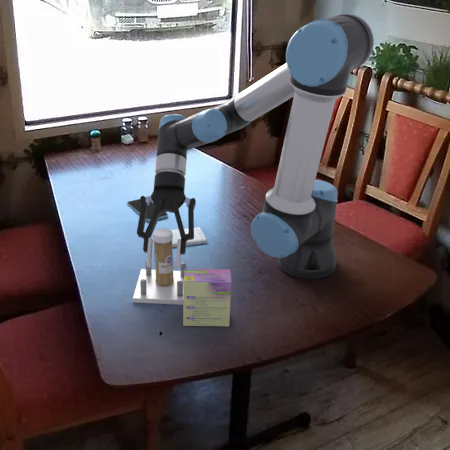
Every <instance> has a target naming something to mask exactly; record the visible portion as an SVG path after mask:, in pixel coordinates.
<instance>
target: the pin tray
mask: <svg viewBox="0 0 450 450" xmlns="http://www.w3.org/2000/svg"><path fill="white" fill-rule="evenodd" d="M146 262H147V260H146V261H145V263H146ZM184 269H187V262H185V261H182V262H181V261H180V270H173V278H174V282H173V283H172V284H170V285H166V286H162V285H158V284H157V283H156V281H155V280H156V271H155V269H153V268H152V266H151V267H147V265H146V264H145V268H141V269H140V272H139V276H138V280H137V283H136V287H135V289H134V294H133V297H132V303H136V304H137V303H139V304H158V305H159V304H161V305H180V306H181V305H182V306H183V289H184Z"/></svg>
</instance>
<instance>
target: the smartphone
mask: <svg viewBox="0 0 450 450" xmlns="http://www.w3.org/2000/svg"><path fill="white" fill-rule="evenodd" d="M126 205H128V207H129V208H130V209H132V210H133V211H134V212H135V213H136V214H137V215H138V216H140V210H141V200H140V198H137V199H133V200H129V201H127V203H126ZM155 207H156V206H155V204H154V203H153V201H151V202H150V205H149V206H147V215H146V221H145V222H147V223H149V222H150V220H151V218H152V215H153V213H154V210H155ZM168 217H169V212H162V213H161V216H160V217H159V219H158V221H160V220H165V219H168Z"/></svg>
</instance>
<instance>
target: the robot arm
mask: <svg viewBox="0 0 450 450" xmlns="http://www.w3.org/2000/svg"><path fill="white" fill-rule="evenodd" d="M374 40H375V39H374V33H373V31H372V28H371V27H370V25H369V24H368V23H367V22H366V20H364V18H362V17H360V16H357V15H355V14H352V13H351V14H349V13H344V14H339V15H338V14H337V15H335V16H331V17H327V18H322V19H316V20H313V21H310V22H308V23H307V24H305V25H303V26H302V27H300V28H299V29H297V30H296V32H294V33H293V35H292V36H291V38H290V39H289V41H288V42H287V47H286V51H285V63H284V64H283V65H281V66H279V67H278V68H277V69H275V70H273V71H272V72H270V73H269V74H267V75H265V76H264V77H262V78H261V79H260V80H257V81H256V82H255V83H253V84H252V85H250V86H249V87H247V88H246V89H244V90H242V91H241V92H239V93H238V94H236V95H235V96H233V97H232V98H230V99H229V100H227V101H225V102H224V103H221V104H219V105H216V106H213V107H211V108H208V109H206V108H205V109H204V110H201V111H199V112H197V113H194V114H193V115H190V116H188V117H186V116H184V115H181V114H177V113H176V114H175V113H173V114H165V115H164V116H162V117H161V118H160V120H159V124H158V125H159V127H158V131H157V145H156V146H157V147H156V158H155V167H154V168H155V170H154V173H155V175H154V183H153V191H152V193H151V195H148V196H144V195H141V196H140V198H139V199H140V200H141V210H140V215H138V216H139V218H138V223H137V229H136V234H137V236H138V238H141V239H143V245H142V246H143V247H142V249H143V253H144V254H146V261H147V262H146V261H145V266H146V265H147V267H151V268H152V258H153V245H154V240H153V237H152V236H153V232H154V231H155V228H156V227H157V224H158V222H159V220H158V219H159V217H160V216H161V213H162V212H166V213H172V214H173V213H174V217H175V221H176V224H177V228H178V229H179V232H180V236H181V239H178V242H177V247H176V258H175V267H176V269H179V270H181V257H182V255H185V254H186V249H187V246H186V242H187V241H188V240H193V239H194V228H195V220H194V219H195V218H194V217H195V216H194V215H195V212H194V211H195V208H196V204H197V202H196V198H195V197H192V198H190V197H186V194H185V189H186V188H185V187H186V186H185V185H186V177H185V176H186V171H187V161H188V160H187V159H188V158H187V155H188V151H190V150H193V149H195V148H198V147H200V146H204V145H206V144H209V143H214V142H216V141H219V139H222V138H223V137H224V136H226V135H229V134H231V133H233V132H235V131H239V130H242V129H243V128H245V127H247V126H249V124H251V122H253V121H254V120H257V119H258V118H259V117H262V116H263V115H265V114H266V113H268V112H270V111H271V110H273V109H275V108H277V107H279V106H280V105H282V104H283V103H285V102H287V101H288V100H290V99H291V98H293V100H292V104H291V108H290V113H289V117H288V123H287V127H286V132H285V136H284V140H283V146H282V149H281V154H280V159H279V164H278V167H277V172H276V178H275V181H274V187H272V188H270V189H269V190H268V191H267V192H266V194H265V197H264V202H263V207H262V211H261V212H260V213H257V214H256V216H255V217H254V218H253V220H252V221H251V224H250V233H251V237H252V240H253V241H254V242H255V243H256V246H257V247H258V248H259V249H260V250H261V251H262V253H265V254H266V255H268V256H270V257H272V258H276V259H277V265H278V267H279V268H280V269H281V271H282V272H284V273H286V274H287V275H290V276H292V277H295V278H299V279H306V280H318V279H324V278H327V277H329V276H331V275H333V273H334V272H335V270H336V267H337V256H336V253H335V248H334V247H335V246H334V244H333V243H334V242H333V234H334V228H335V220H336V212H337V206H338V205H337V204H338V201H339V200H338V194H339V193H338V189H337V187H336V186H334V185H333V184H332V183H330V182H328V181H324V180H321V179H316V177H317V175H318V174H317V173H318V170H319V166H320V162H321V159H322V154H323V150H324V147H325V144H326V143H325V142H326V138H327V134H328V130H329V127H330V123H331V119H332V116H333V111H334V109H335V108H334V107H335V104H336V100H337V99H339V98H341V97H343V96H344V95H345V93H346V91H347V88H348V83H349V78H350V76H351V75H350V74H351V72H353V71H355V70H356V69H358V68H360V67H362V66H363V65H364V64H365V63H366V62H367V61H368V60H369V59H370V56H371V55H372V51H373V48H374ZM151 201H152V202H153V203H154V204H155V206H156V207H155V210H154V213H153V215H152V218H151V220H150V222H148V225H147V227H146V229H145V225H146V222H147V221H146V215H147V206H149V205H150V202H151ZM184 203H185V204H186V208H187V218H188V225H187V226H188V228H189V233H188V234H185V231H184V229H185V228H184V227H185V226H184V225H183V221H182V216H181V214H180V210H179V209H180V208H181V207H182V206H183V204H184ZM178 229H177V230H178Z"/></svg>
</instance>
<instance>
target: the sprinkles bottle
mask: <svg viewBox="0 0 450 450" xmlns="http://www.w3.org/2000/svg"><path fill="white" fill-rule="evenodd" d="M171 230H172V229H170V228H158V229H156V230H155V229H154V231H153V233H152V240H153V245H154V251H153V253H154V270H155V271H156V280H155V281H156V283H157V284H158V285H162V286H166V285H170V284H172V283H173V282H174V278H173V271H174V257H173V254H174V253H173V247H172V240H173V233H172V231H171Z"/></svg>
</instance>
